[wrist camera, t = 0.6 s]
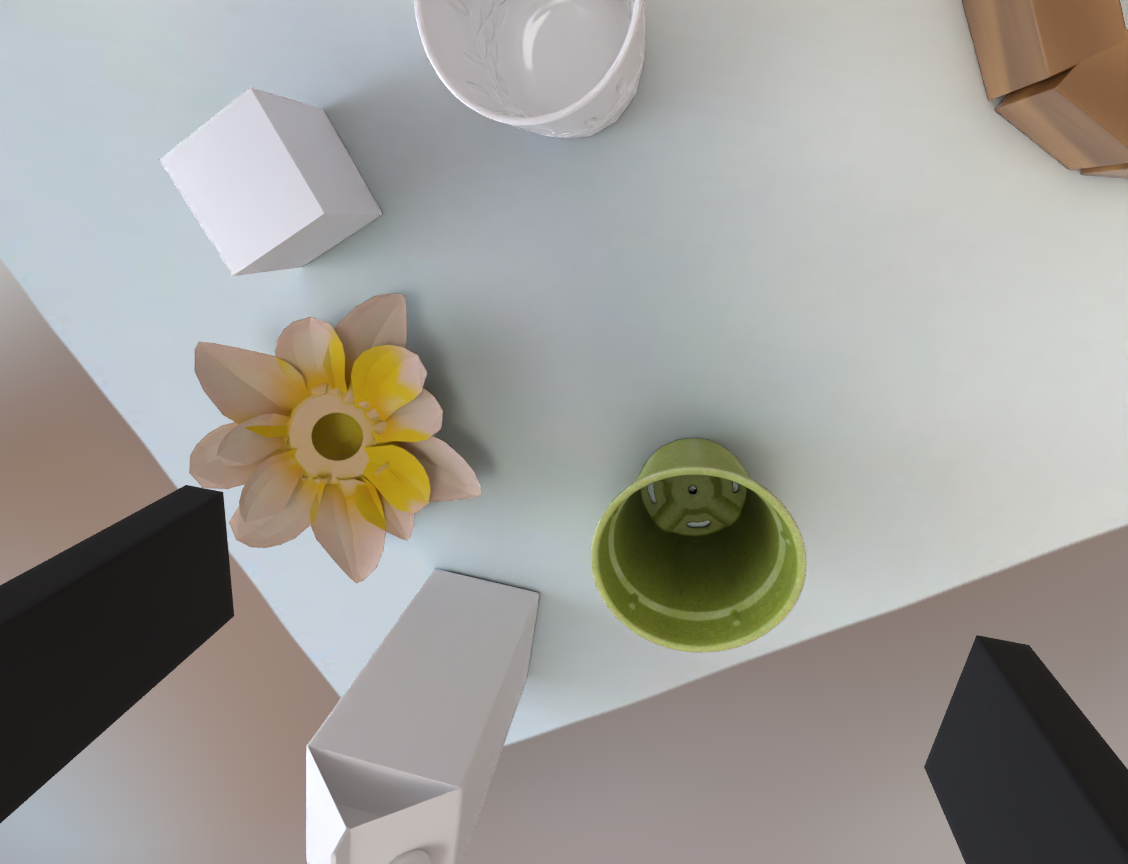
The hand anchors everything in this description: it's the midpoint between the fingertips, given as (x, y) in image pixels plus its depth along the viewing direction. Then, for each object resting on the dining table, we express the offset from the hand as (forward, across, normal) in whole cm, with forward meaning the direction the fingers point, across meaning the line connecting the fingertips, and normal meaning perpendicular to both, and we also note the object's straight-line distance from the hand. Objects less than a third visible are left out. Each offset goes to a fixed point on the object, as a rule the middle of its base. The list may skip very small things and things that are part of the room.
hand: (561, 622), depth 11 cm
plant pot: (+25, +4, -8) cm, 26 cm away
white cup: (+25, -6, +13) cm, 29 cm away
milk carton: (+25, -8, -20) cm, 33 cm away
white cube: (+25, -19, +6) cm, 32 cm away
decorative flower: (+25, -15, -7) cm, 30 cm away
